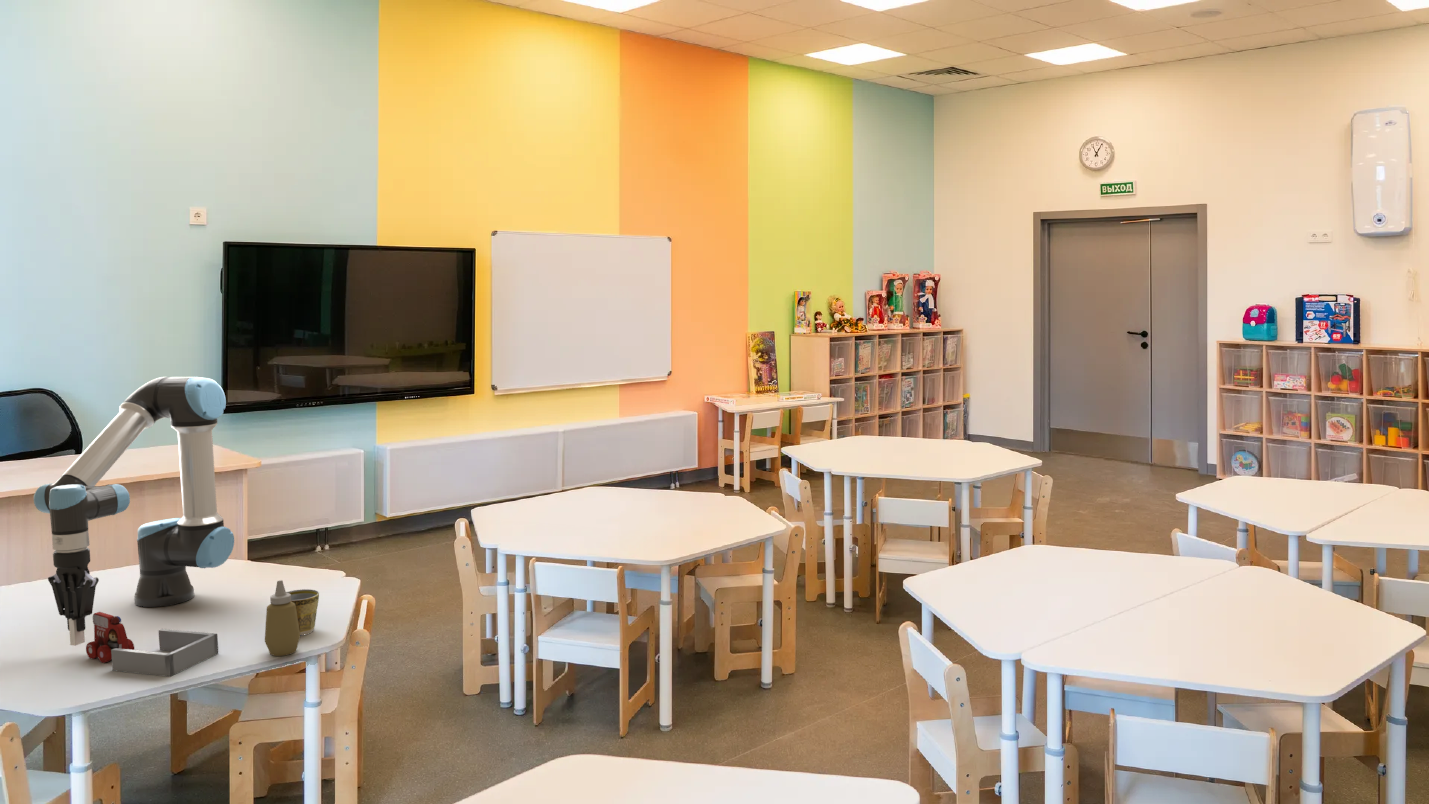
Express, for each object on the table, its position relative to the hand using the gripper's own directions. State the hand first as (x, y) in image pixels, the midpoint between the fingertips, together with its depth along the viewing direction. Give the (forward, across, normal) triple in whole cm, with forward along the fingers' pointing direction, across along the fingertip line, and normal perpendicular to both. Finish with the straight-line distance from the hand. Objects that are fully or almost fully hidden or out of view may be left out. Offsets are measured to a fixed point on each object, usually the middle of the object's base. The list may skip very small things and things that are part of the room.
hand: (77, 643), depth 244 cm
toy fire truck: (+3, +10, 0) cm, 10 cm away
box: (+3, +26, 0) cm, 26 cm away
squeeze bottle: (+3, +48, +13) cm, 50 cm away
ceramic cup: (+3, +41, +28) cm, 50 cm away
